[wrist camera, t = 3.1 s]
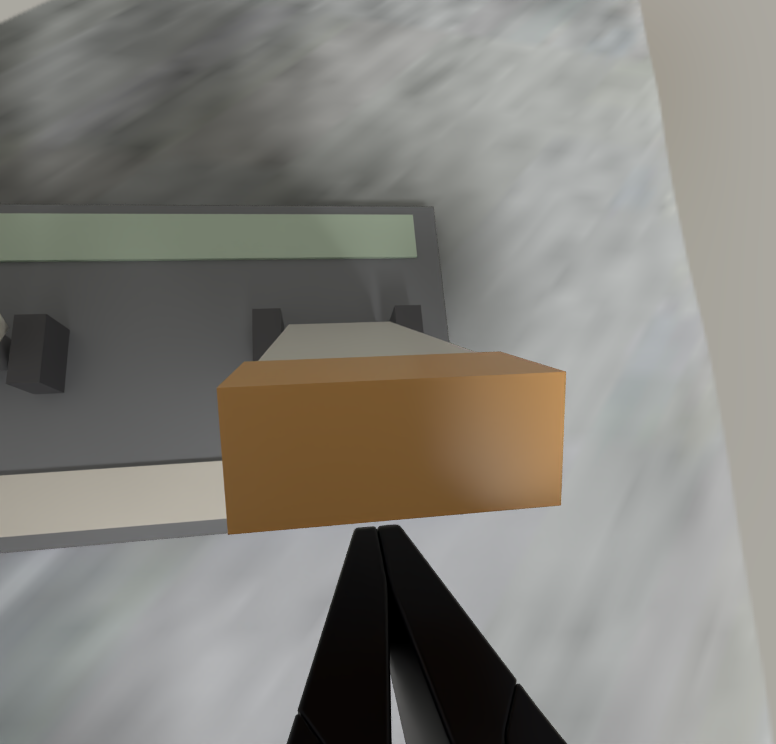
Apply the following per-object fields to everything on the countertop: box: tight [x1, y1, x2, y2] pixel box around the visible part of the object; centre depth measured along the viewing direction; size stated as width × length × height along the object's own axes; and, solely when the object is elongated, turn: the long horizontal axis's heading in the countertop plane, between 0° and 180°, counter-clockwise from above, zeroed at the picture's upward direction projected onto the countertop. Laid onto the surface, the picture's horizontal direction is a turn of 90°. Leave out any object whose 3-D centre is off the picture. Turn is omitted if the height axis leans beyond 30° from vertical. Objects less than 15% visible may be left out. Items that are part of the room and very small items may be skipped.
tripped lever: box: [217, 322, 566, 535], centre depth 12 cm, size 2×4×14 cm, turn 94°
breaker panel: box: [0, 204, 449, 553], centre depth 18 cm, size 13×22×2 cm, turn 94°
